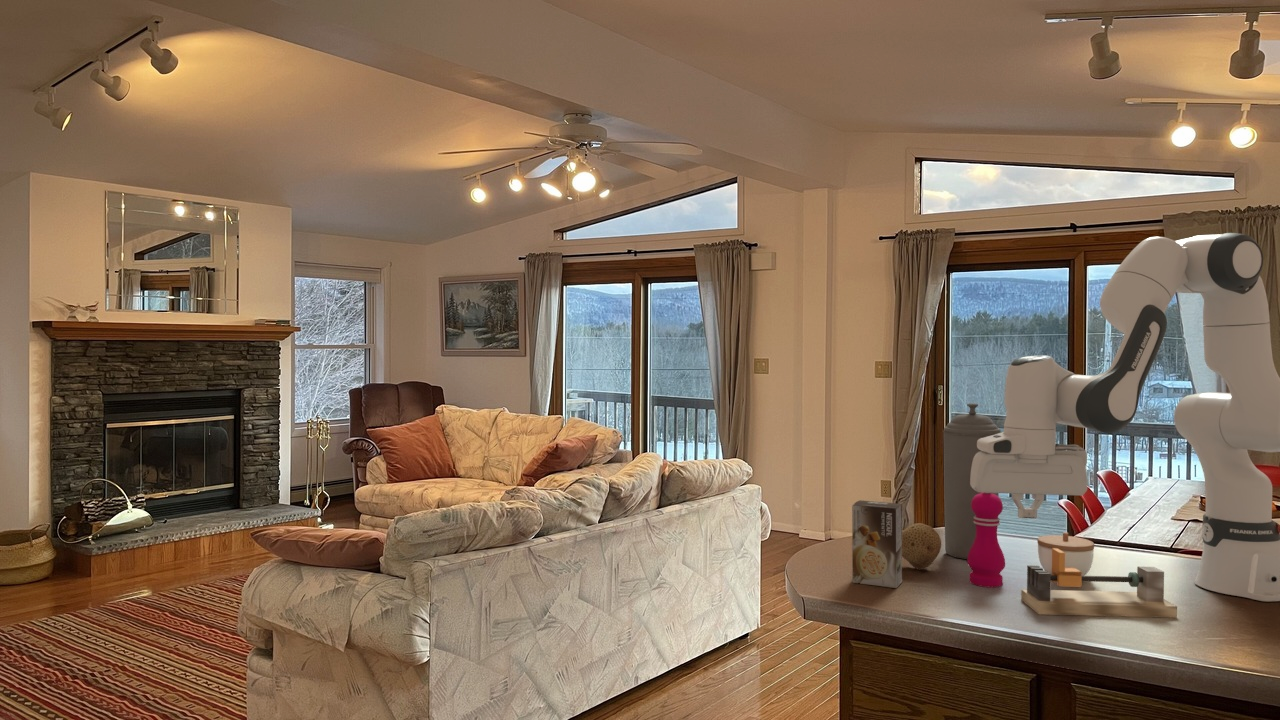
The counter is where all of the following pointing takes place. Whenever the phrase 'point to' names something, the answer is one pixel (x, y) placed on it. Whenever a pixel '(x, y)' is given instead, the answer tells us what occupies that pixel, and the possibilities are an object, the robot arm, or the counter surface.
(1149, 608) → the cord board
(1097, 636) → the counter surface
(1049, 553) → the lidded jar
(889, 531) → the coffee box
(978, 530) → the pepper mill
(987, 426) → the canister
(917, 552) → the natural sponge
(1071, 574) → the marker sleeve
